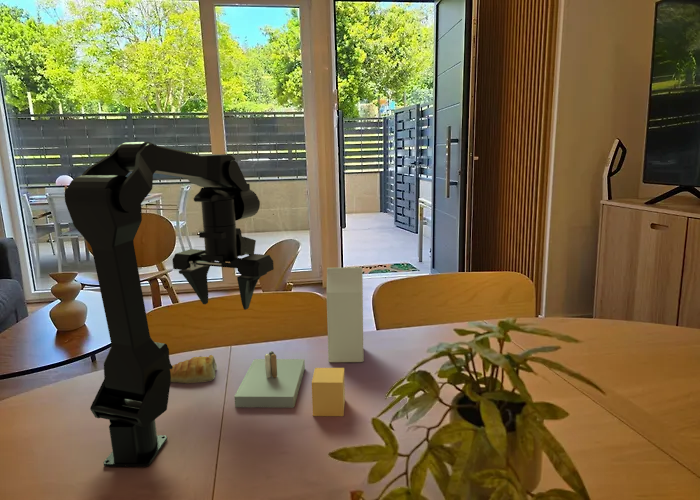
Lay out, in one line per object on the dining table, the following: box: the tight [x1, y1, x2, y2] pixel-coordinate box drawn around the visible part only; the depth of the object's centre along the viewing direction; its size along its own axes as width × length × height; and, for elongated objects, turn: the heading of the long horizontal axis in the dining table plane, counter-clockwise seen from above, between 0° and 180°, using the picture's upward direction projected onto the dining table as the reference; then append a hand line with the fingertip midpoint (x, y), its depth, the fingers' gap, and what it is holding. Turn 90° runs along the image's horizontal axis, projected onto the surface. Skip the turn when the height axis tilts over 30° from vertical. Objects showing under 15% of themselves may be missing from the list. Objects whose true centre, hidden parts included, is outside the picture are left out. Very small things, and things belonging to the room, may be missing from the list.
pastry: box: [170, 354, 217, 384], centre depth 89 cm, size 9×7×4 cm
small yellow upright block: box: [311, 367, 346, 417], centre depth 77 cm, size 5×5×6 cm
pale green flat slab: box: [234, 351, 306, 408], centre depth 84 cm, size 14×10×7 cm
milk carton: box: [325, 267, 364, 363], centre depth 95 cm, size 7×7×19 cm
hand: (225, 306), depth 87 cm, fingers open, 9 cm apart
